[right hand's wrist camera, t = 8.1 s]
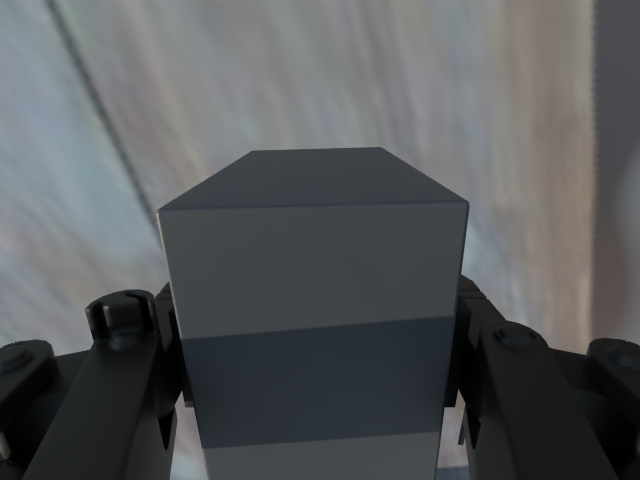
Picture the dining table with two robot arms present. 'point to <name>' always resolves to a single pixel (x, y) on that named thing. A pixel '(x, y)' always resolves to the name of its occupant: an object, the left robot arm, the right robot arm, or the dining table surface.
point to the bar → (317, 313)
